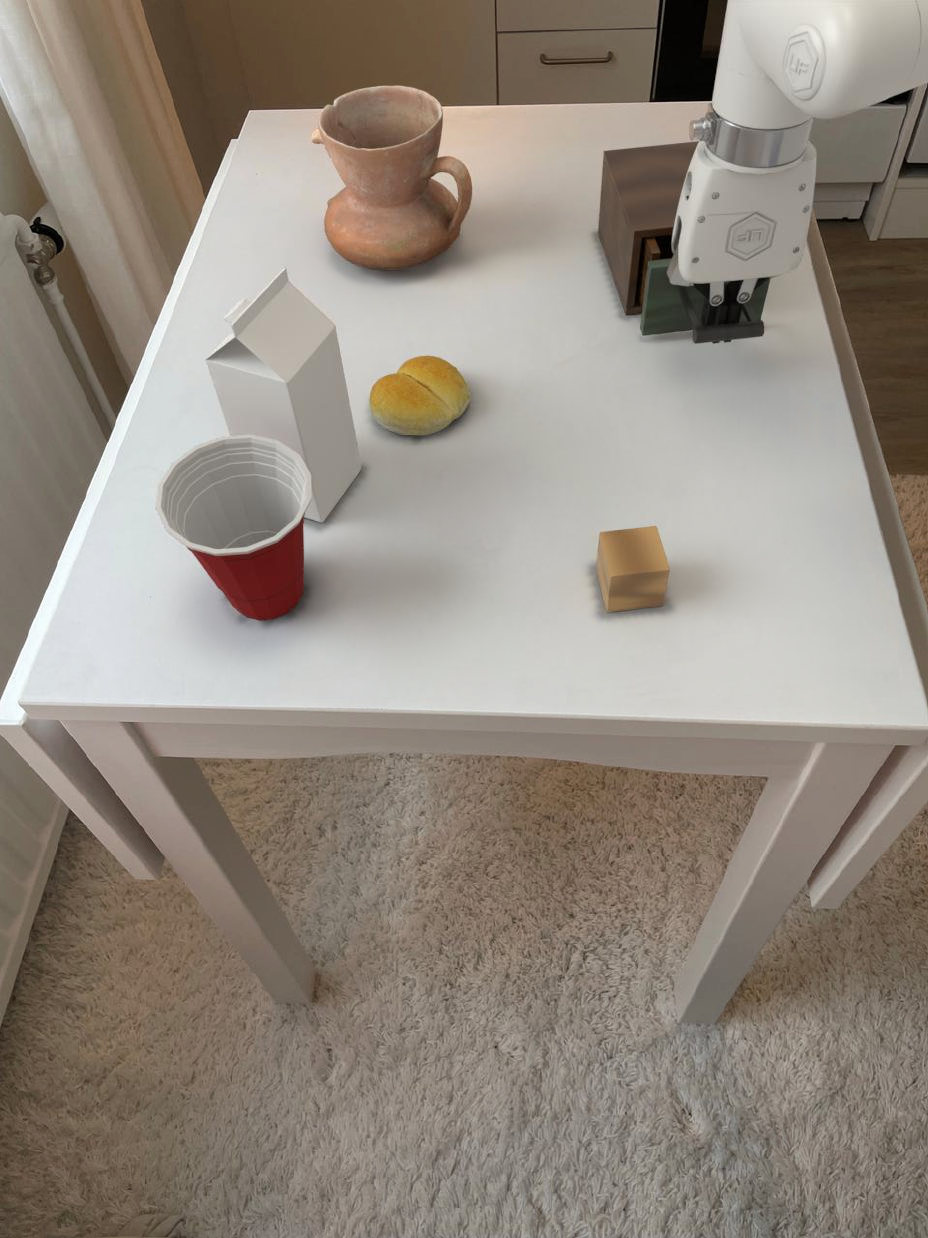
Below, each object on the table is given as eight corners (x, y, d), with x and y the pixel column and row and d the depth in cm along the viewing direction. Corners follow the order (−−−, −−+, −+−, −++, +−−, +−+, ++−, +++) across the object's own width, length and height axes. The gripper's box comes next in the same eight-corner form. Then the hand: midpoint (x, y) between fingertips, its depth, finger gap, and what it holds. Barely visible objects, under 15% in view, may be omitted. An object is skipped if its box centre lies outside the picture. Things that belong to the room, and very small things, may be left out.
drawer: (783, 371, 87) (802, 302, 81) (659, 385, 87) (669, 316, 81) (722, 244, 99) (735, 176, 93) (614, 255, 99) (620, 188, 93)
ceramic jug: (293, 262, 103) (265, 129, 91) (366, 196, 110) (348, 65, 98) (437, 306, 97) (426, 170, 85) (504, 233, 104) (502, 99, 93)
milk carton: (363, 469, 83) (327, 277, 68) (322, 525, 80) (275, 335, 64) (293, 447, 85) (243, 257, 70) (250, 501, 82) (188, 312, 66)
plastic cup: (246, 674, 71) (203, 572, 61) (176, 588, 76) (126, 482, 67) (364, 598, 75) (341, 491, 65) (290, 521, 80) (258, 412, 70)
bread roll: (354, 411, 88) (348, 377, 85) (427, 366, 91) (423, 331, 88) (413, 455, 84) (409, 420, 81) (486, 406, 87) (485, 371, 84)
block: (650, 562, 76) (656, 525, 72) (663, 606, 73) (670, 569, 69) (595, 568, 75) (599, 531, 72) (606, 612, 73) (610, 576, 69)
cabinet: (750, 302, 95) (770, 216, 87) (625, 315, 94) (634, 230, 87) (712, 221, 103) (727, 137, 96) (597, 233, 103) (603, 150, 96)
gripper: (671, 165, 69) (644, 368, 84) (873, 145, 70) (811, 351, 84) (649, 115, 74) (627, 316, 88) (839, 96, 74) (785, 300, 89)
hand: (717, 332), depth 86 cm, fingers closed
